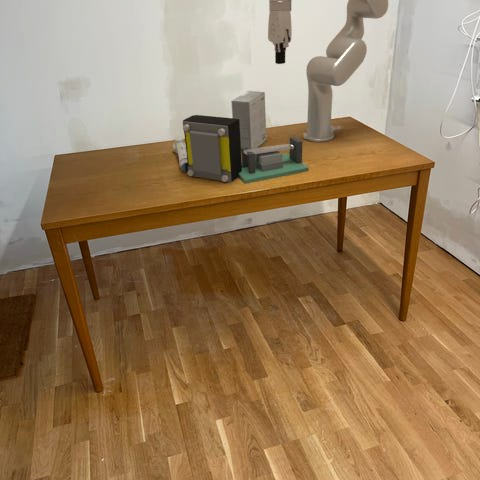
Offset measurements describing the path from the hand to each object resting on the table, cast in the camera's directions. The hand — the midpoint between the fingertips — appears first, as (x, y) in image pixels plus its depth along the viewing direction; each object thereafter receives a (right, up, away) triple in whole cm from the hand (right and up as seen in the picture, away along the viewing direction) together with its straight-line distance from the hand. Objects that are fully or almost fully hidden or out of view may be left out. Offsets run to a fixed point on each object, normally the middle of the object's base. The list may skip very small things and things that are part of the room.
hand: (280, 63), depth 168 cm
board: (-5, -38, -1) cm, 39 cm away
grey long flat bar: (-4, -32, -4) cm, 33 cm away
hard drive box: (-10, -26, +21) cm, 35 cm away
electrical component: (-24, -41, -3) cm, 48 cm away
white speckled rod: (-36, -34, +11) cm, 51 cm away
